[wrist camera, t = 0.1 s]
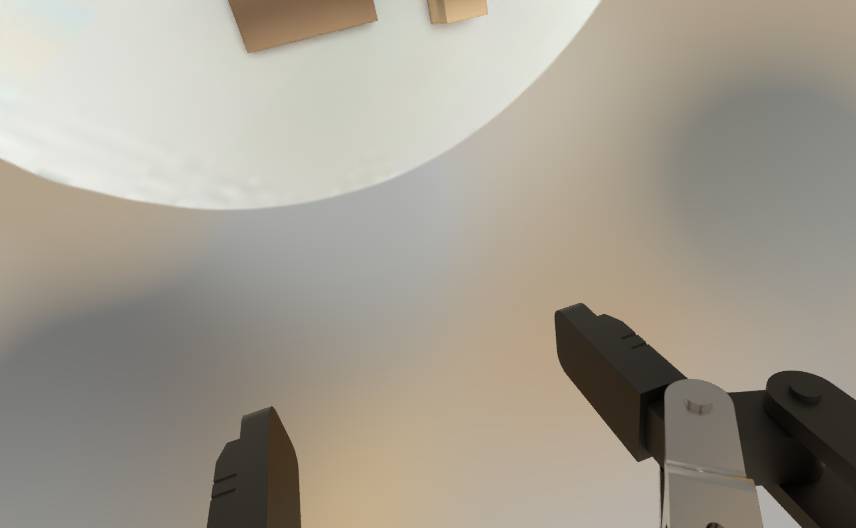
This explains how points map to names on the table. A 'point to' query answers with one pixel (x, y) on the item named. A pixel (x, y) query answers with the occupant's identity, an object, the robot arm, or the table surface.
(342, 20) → the flat cardboard carton
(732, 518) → the robot arm
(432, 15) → the tan rectangular block
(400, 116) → the table surface
